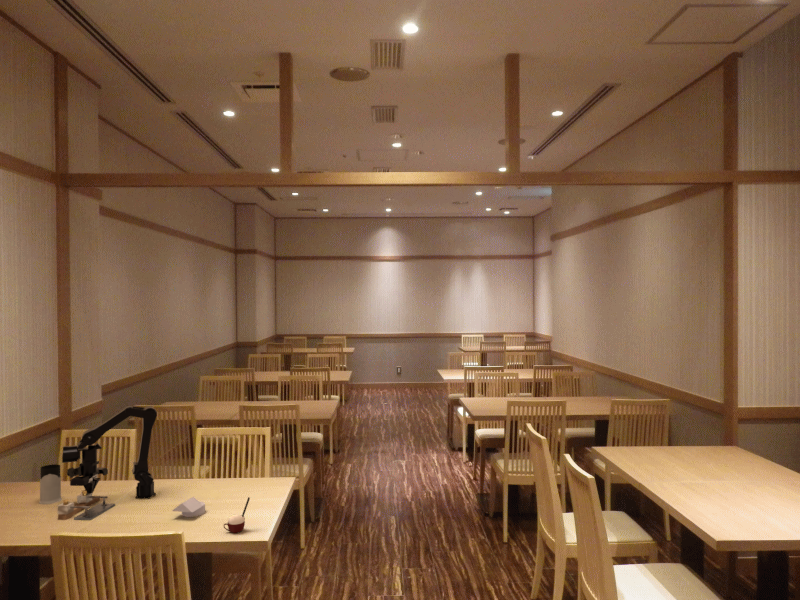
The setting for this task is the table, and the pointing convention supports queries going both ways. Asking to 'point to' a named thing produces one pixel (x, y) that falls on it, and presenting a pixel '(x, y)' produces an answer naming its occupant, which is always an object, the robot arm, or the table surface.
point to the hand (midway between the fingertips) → (89, 496)
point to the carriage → (88, 497)
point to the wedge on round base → (191, 507)
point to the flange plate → (95, 511)
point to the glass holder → (50, 484)
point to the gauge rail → (76, 510)
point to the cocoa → (236, 521)
